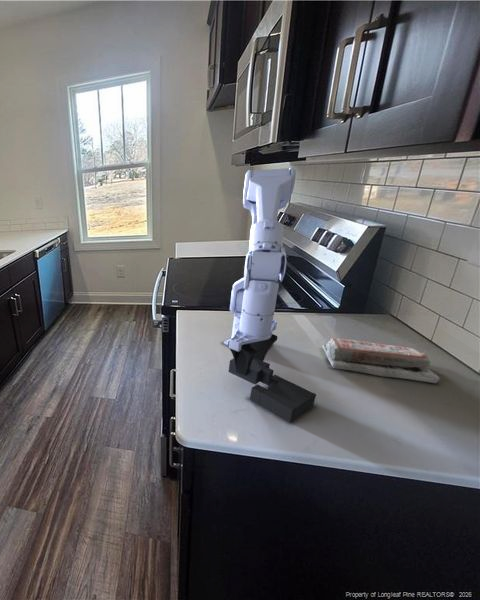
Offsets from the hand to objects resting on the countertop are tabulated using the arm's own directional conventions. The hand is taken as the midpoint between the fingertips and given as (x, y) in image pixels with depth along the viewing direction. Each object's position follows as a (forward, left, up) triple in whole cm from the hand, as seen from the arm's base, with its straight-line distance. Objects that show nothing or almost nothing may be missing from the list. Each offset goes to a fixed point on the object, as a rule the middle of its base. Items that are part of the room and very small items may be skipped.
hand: (248, 368), depth 68 cm
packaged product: (-30, +11, -4) cm, 32 cm away
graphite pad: (0, 0, -1) cm, 1 cm away
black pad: (0, +7, -4) cm, 9 cm away
